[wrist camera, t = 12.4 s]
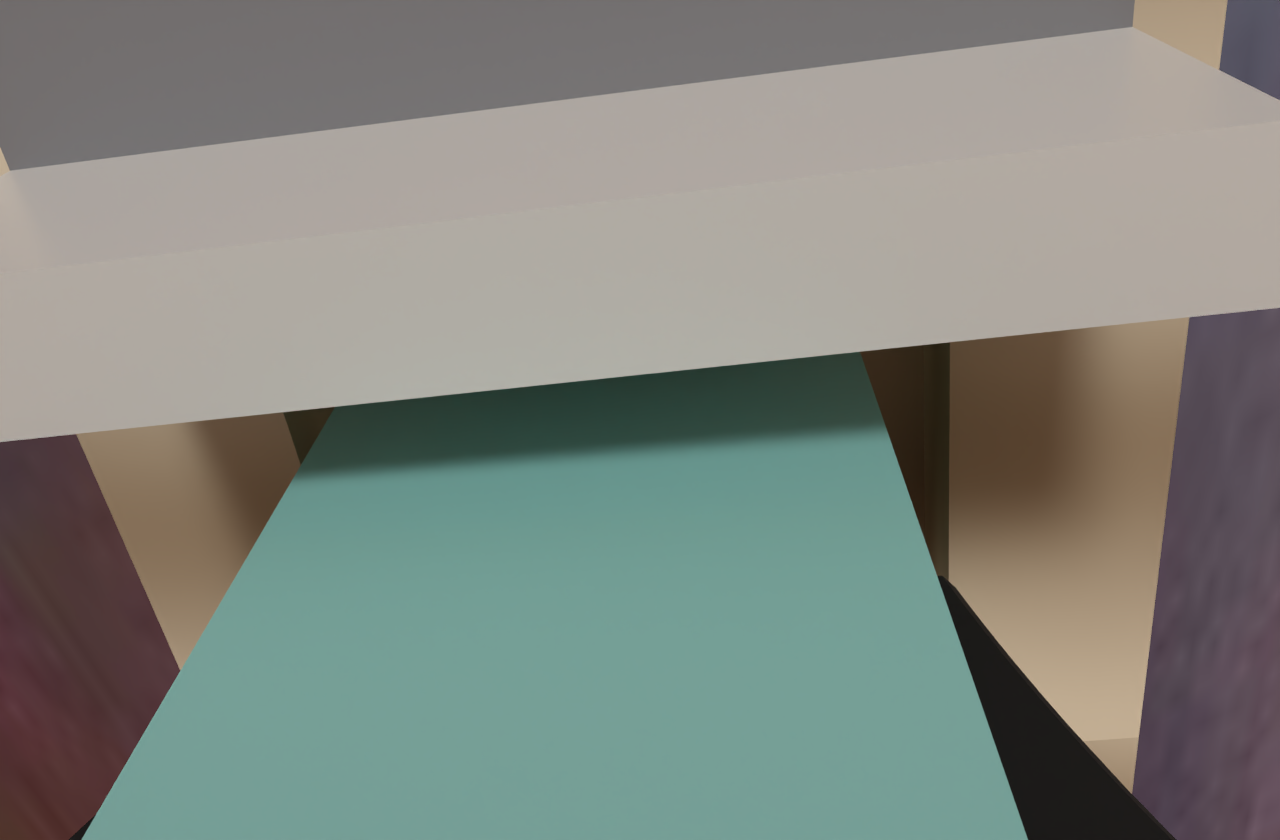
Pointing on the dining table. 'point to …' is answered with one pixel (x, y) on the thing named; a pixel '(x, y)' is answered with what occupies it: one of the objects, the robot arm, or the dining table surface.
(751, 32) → the cover
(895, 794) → the block
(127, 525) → the board
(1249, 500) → the dining table surface
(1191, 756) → the dining table surface
